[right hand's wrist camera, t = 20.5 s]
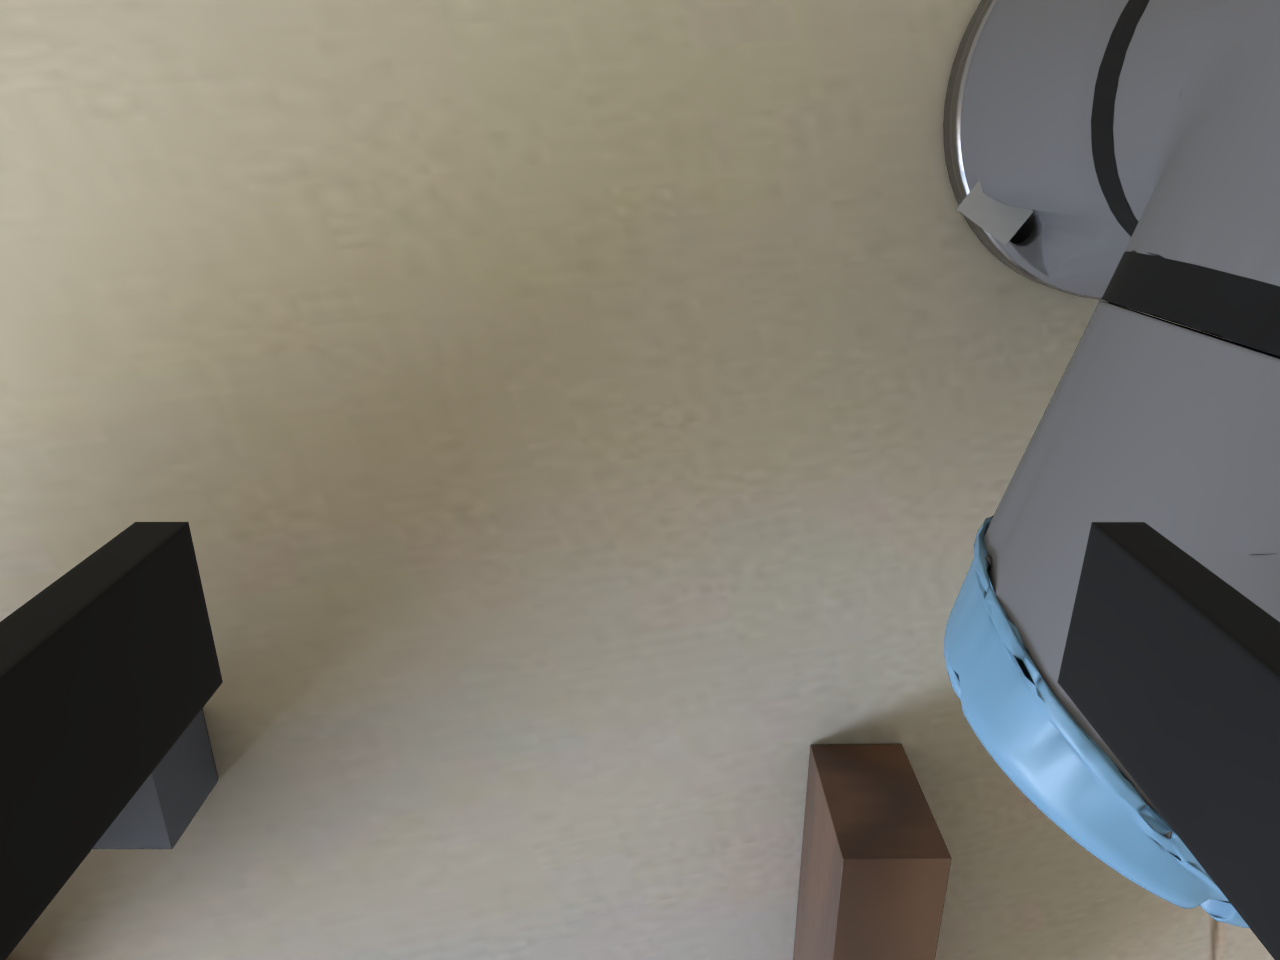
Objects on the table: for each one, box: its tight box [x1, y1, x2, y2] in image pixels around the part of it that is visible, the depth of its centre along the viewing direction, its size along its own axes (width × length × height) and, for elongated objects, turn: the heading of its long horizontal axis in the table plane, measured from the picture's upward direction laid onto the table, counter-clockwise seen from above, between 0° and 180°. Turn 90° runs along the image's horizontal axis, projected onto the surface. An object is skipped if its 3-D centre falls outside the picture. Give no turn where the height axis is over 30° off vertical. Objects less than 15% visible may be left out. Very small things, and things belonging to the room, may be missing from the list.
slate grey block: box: [92, 709, 218, 849], centre depth 44 cm, size 5×5×5 cm
